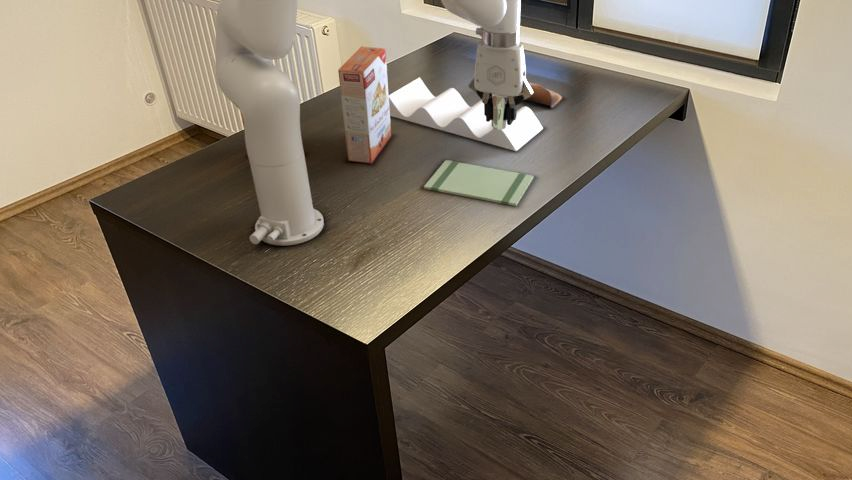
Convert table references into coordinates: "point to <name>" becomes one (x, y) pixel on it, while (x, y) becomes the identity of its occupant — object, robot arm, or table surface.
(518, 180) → the towel
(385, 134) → the cracker box
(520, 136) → the white wavy rack
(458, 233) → the table surface
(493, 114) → the milkshake
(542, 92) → the sunglasses case
